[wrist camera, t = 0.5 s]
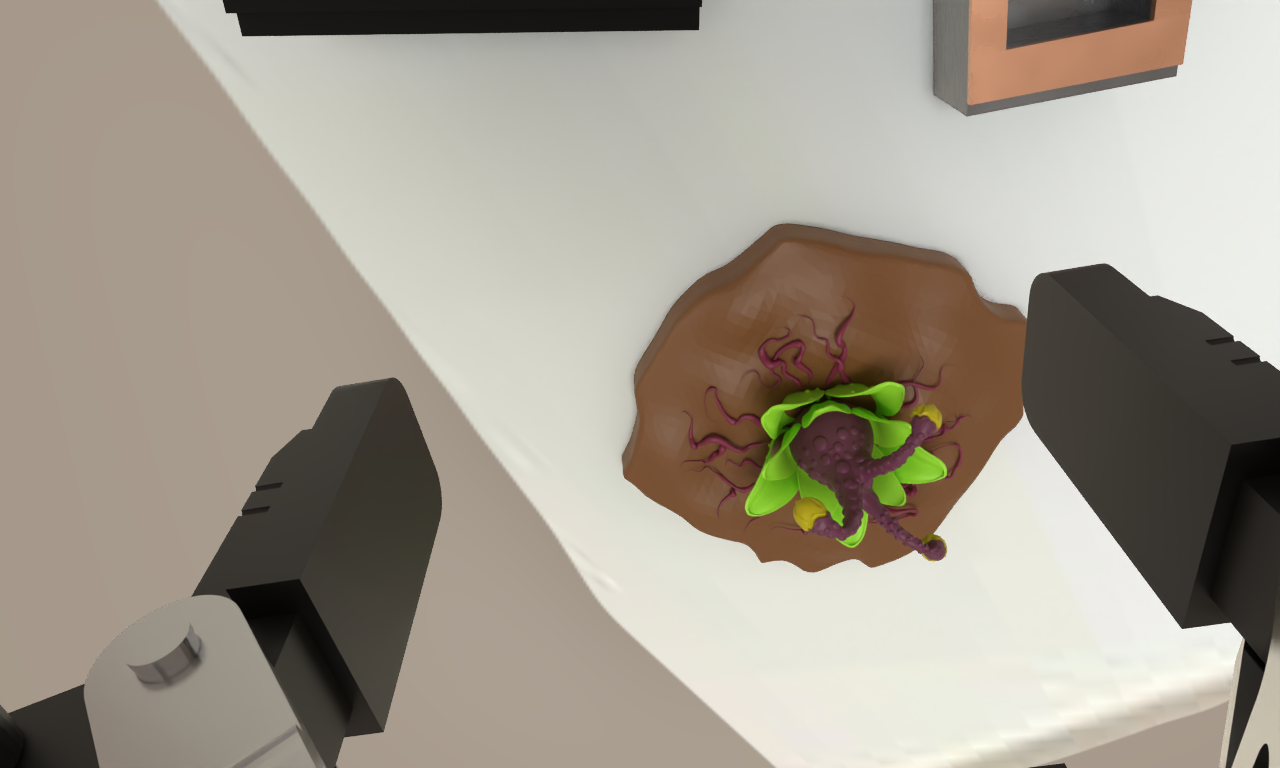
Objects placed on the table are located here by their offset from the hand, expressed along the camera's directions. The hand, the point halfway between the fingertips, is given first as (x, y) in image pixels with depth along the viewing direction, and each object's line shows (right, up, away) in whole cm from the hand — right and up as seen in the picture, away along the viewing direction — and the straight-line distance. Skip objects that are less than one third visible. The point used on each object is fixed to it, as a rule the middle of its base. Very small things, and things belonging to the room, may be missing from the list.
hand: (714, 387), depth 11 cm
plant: (+8, -1, +34) cm, 35 cm away
